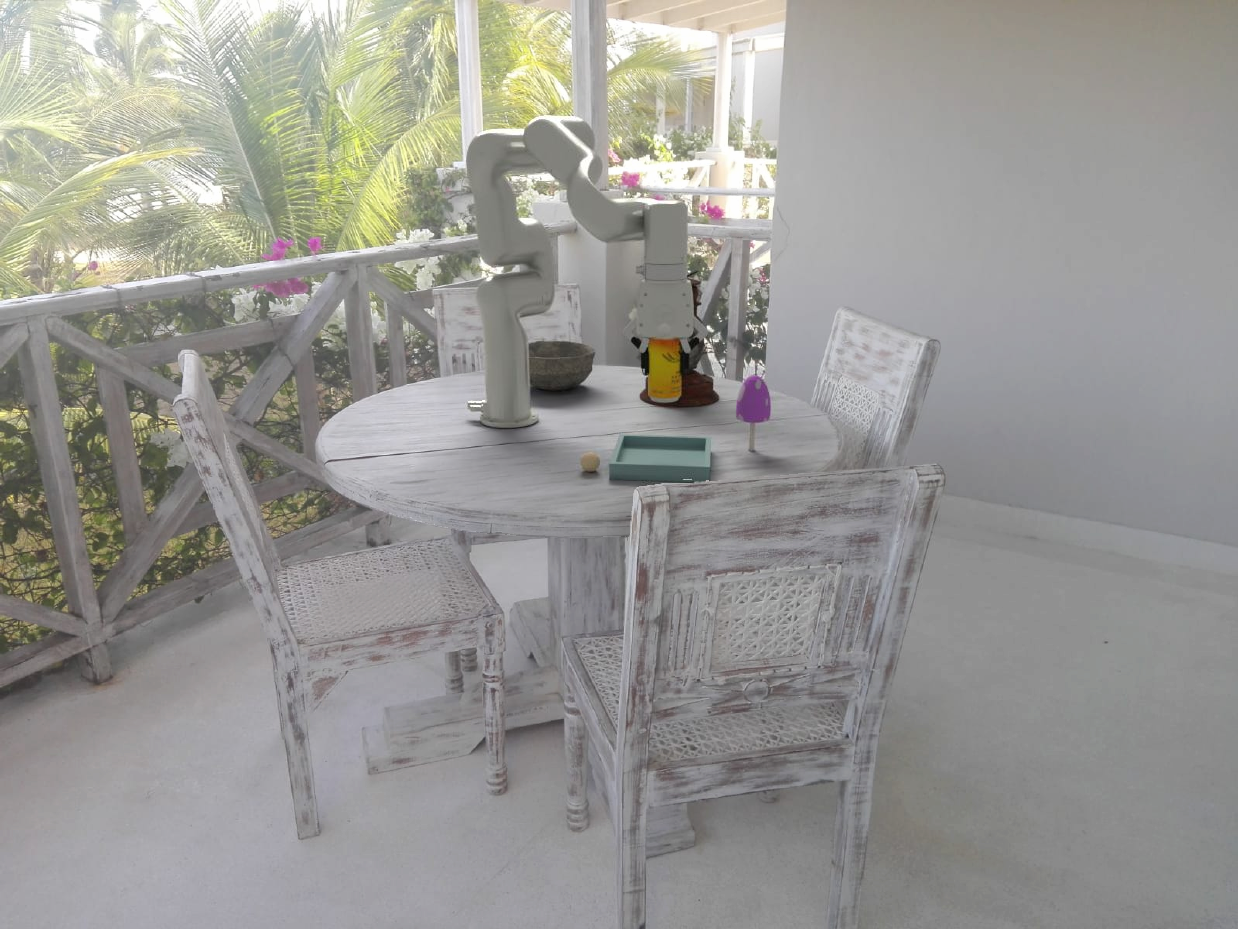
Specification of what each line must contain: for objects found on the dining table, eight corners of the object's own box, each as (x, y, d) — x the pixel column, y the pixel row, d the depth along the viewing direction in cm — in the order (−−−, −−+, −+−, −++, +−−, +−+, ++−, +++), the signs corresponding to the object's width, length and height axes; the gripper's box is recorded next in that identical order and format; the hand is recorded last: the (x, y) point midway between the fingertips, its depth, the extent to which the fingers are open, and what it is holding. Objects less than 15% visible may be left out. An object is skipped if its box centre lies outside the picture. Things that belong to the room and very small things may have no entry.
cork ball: (579, 474, 173) (579, 455, 171) (582, 467, 176) (581, 449, 175) (598, 474, 172) (598, 456, 171) (601, 468, 176) (601, 449, 174)
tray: (609, 479, 170) (609, 463, 169) (619, 448, 187) (619, 434, 186) (709, 482, 168) (709, 466, 167) (710, 451, 185) (711, 436, 184)
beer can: (678, 403, 170) (679, 320, 165) (645, 402, 171) (645, 320, 166) (683, 395, 175) (684, 315, 171) (651, 394, 177) (651, 314, 172)
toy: (760, 457, 182) (764, 381, 177) (728, 451, 185) (731, 376, 180) (773, 448, 187) (778, 374, 182) (743, 442, 191) (746, 370, 186)
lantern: (657, 384, 236) (659, 262, 227) (729, 392, 229) (734, 267, 219) (626, 402, 220) (626, 272, 210) (703, 411, 213) (707, 277, 203)
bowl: (594, 399, 222) (594, 358, 219) (507, 399, 223) (505, 357, 219) (597, 378, 242) (597, 340, 239) (517, 378, 242) (516, 339, 239)
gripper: (614, 275, 163) (615, 377, 169) (714, 275, 161) (712, 378, 167) (619, 270, 170) (620, 367, 176) (715, 270, 169) (712, 369, 174)
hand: (665, 372), depth 172 cm, fingers closed on beer can, 6 cm apart
